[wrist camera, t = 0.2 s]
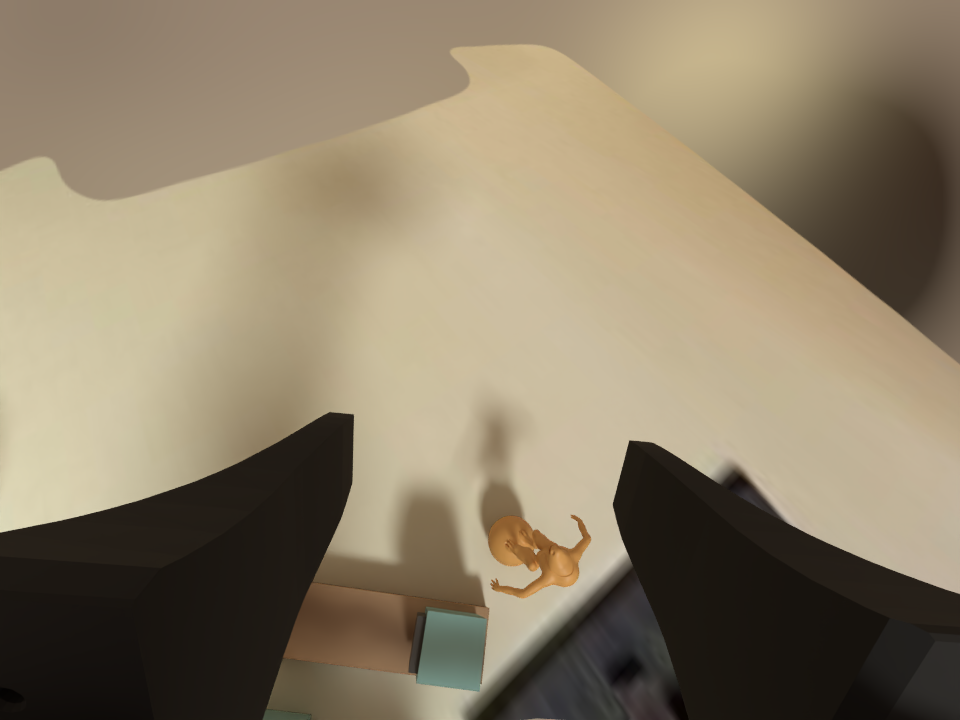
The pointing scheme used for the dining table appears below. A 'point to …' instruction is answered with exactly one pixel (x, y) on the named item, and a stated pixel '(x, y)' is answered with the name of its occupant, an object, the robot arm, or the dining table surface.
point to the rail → (392, 635)
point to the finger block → (284, 715)
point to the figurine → (516, 546)
